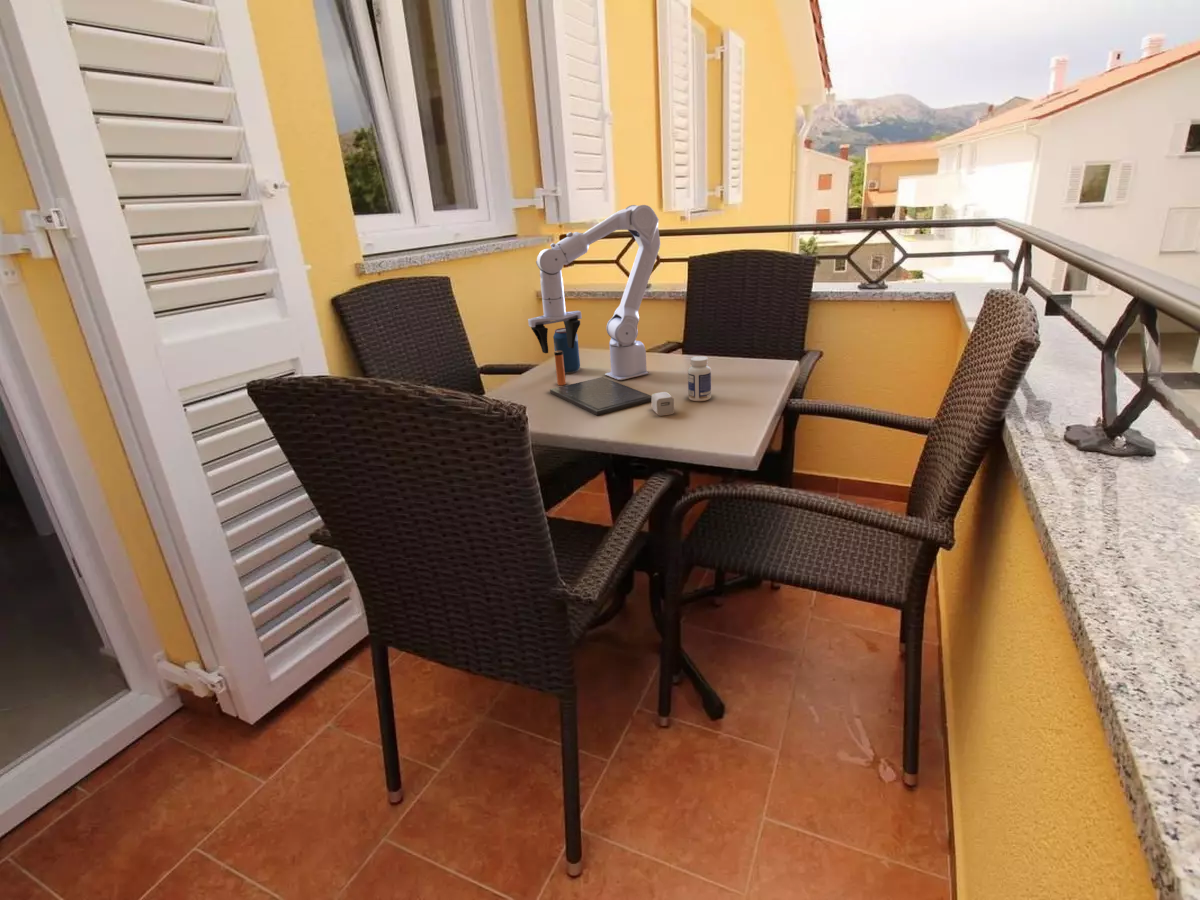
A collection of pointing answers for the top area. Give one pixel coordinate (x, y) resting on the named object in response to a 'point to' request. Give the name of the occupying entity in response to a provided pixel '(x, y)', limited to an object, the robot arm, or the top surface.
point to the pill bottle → (699, 379)
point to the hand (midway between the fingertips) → (558, 350)
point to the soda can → (567, 350)
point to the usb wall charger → (662, 403)
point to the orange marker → (560, 367)
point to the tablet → (601, 395)
